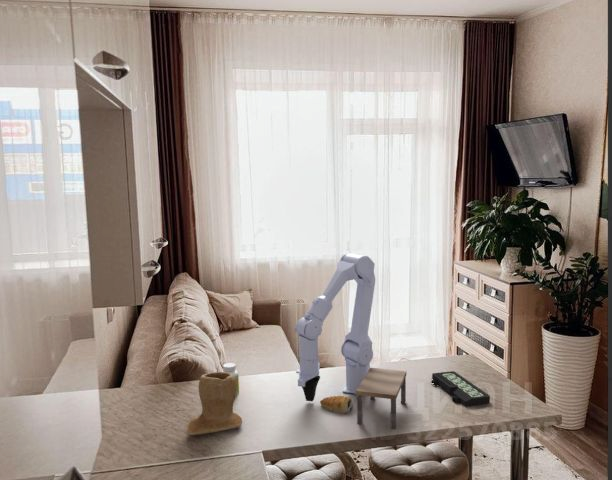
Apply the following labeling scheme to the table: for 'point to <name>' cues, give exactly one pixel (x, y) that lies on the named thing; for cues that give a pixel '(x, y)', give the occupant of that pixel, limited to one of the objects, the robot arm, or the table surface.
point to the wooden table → (382, 389)
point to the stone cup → (216, 404)
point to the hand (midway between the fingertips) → (310, 400)
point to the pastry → (337, 404)
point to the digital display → (460, 389)
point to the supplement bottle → (231, 369)
